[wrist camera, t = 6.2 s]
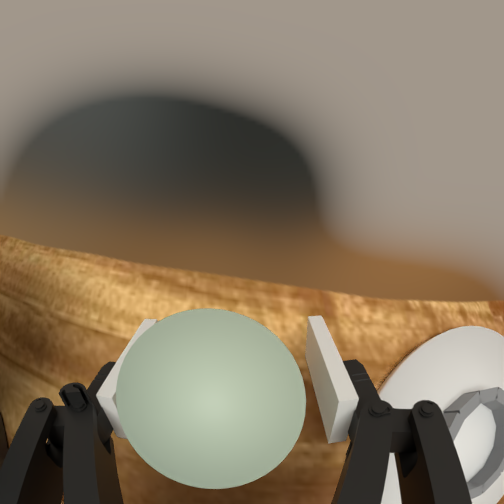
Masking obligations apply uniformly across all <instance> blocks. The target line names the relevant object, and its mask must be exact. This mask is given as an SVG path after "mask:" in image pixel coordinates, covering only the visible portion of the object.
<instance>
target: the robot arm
mask: <svg viewBox="0 0 504 504" xmlns="http://www.w3.org/2000/svg"><path fill="white" fill-rule="evenodd" d="M155 323H157V319H144V321H143V322H142V324H141V325H140V327H139V328H138V330H137V331H136V333H135V334H134V336H133V337H132V339H131V340H130V342H129V343H128V345H127V347H126V348H125V350H124V351H123V353H122V354H121V356H120V357H119V359H118V360H117V362H108V363H107V364H106V365H104V366H103V367H102V368H101V369H100V371H99V372H98V375H96V377H95V378H94V379H95V380H93V381H92V383H91V384H90V386H89V388H88V389H87V390H86V388H85V386H84V385H83V384H80V383H69V384H67V385H65V386H63V387H62V388H61V389H60V392H59V395H60V397H61V399H62V401H63V402H64V404H65V406H54V405H53V403H52V401H51V400H50V399H48V398H38V399H36V400H34V401H33V402H32V403H31V404H30V406H29V408H28V410H27V412H26V414H25V416H24V418H23V420H22V422H21V424H20V426H19V428H18V430H17V432H16V434H15V436H14V439H13V441H12V443H11V445H10V448H9V450H8V448H7V441H6V435H5V430H4V426H3V421H2V418H1V414H0V504H61V500H62V495H63V491H64V504H123V499H122V495H121V490H120V484H119V479H118V473H117V467H116V460H115V453H114V445H113V440H112V438H111V436H110V435H111V433H112V431H113V430H114V432H115V434H116V436H117V437H120V438H125V439H128V438H127V437H126V435H125V433H124V430H123V428H122V425H121V423H120V419H119V415H118V411H117V403H116V386H117V380H118V375H119V371H120V368H121V365H122V363H123V361H124V358H125V356H126V354H127V353H128V351H129V349H130V348H131V346H132V345H133V344H134V343H135V341H136V340H137V339H138V338H139V337H140V336H141V335H142V334H143V333H144V332H145V331H146V330H147V329H149V328H150V327H151V326H153V325H154V324H155ZM305 357H306V361H307V365H308V368H309V372H310V376H311V379H312V383H313V387H314V390H315V394H316V398H317V402H318V405H319V409H320V413H321V417H322V420H323V424H324V428H325V432H326V436H327V440H328V443H335V442H341V441H346V438H347V436H348V434H349V437H350V440H351V442H350V445H349V447H348V450H347V453H346V459H345V463H344V466H343V469H342V473H341V476H340V479H339V482H338V485H337V488H336V491H335V494H334V497H333V500H332V503H331V504H381V501H382V496H383V491H384V486H385V480H386V475H387V469H388V462H389V455H390V453H394V456H395V462H396V468H397V474H398V481H399V488H400V495H401V503H402V504H472V501H471V497H470V493H469V490H468V486H467V482H466V479H465V476H464V472H463V469H462V466H461V463H460V460H459V457H458V454H457V451H456V448H455V445H454V442H453V439H452V437H451V434H450V431H449V429H448V426H447V424H446V421H445V418H444V416H443V413H442V411H441V409H440V407H439V406H438V404H436V403H435V402H433V401H430V400H421V401H418V402H417V403H415V404H414V406H413V408H412V409H396V408H393V407H392V406H391V405H390V404H389V403H388V402H386V401H383V400H381V399H380V397H379V395H378V393H377V391H376V389H375V387H374V385H373V383H372V381H371V379H370V377H369V375H368V374H367V372H366V370H365V368H364V366H363V365H362V364H361V363H360V362H358V361H357V360H356V359H355V360H348V361H342V359H341V357H340V355H339V352H338V350H337V348H336V346H335V344H334V341H333V339H332V337H331V335H330V333H329V331H328V328H327V326H326V324H325V322H324V320H323V318H322V316H309V317H308V325H307V340H306V353H305ZM47 438H48V441H47ZM46 441H47V443H46Z"/></svg>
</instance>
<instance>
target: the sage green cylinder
mask: <svg viewBox="0 0 504 504" xmlns="http://www.w3.org/2000/svg"><path fill="white" fill-rule="evenodd" d="M116 403H117V411H118V415H119V419H120V423H121V425H122V428H123V430H124V433H125V435H126V437H127V438H128V440H129V442H130V444H131V445H132V446H133V448H134V449H135V450H136V452H137V453H138V454H139V455H140V456H141V457H142V458H143V459H144V461H145V462H146V463H148V464H149V465H150V466H151V467H153V468H154V469H155V470H156V471H158V472H160V473H161V474H163V475H164V476H166V477H168V478H170V479H172V480H175V481H177V482H179V483H182V484H186V485H189V486H193V487H198V488H206V489H223V488H231V487H236V486H241V485H244V484H247V483H249V482H252V481H255V480H257V479H258V478H260V477H262V476H264V475H266V474H267V473H269V472H270V471H271V470H273V469H274V468H275V467H277V466H278V465H279V464H280V463H281V462H282V461H283V460H284V459H285V457H286V456H287V455H288V454H289V452H290V451H291V450H292V448H293V446H294V445H295V443H296V441H297V439H298V437H299V435H300V432H301V429H302V427H303V422H304V418H305V410H306V395H305V387H304V383H303V378H302V375H301V373H300V370H299V367H298V365H297V363H296V361H295V359H294V358H293V356H292V354H291V353H290V351H289V350H288V349H287V347H286V346H285V345H284V344H283V342H282V341H281V340H280V339H279V338H278V337H277V336H276V335H275V334H273V333H272V332H271V331H270V330H269V329H267V328H266V327H264V326H263V325H261V324H260V323H258V322H257V321H255V320H253V319H250V318H248V317H246V316H244V315H241V314H238V313H235V312H231V311H226V310H221V309H194V310H187V311H183V312H180V313H176V314H173V315H171V316H169V317H166V318H164V319H162V320H161V321H159V322H157V323H155V324H154V325H153V326H151V327H150V328H149V329H147V330H146V331H145V332H144V333H143V334H142V335H141V336H140V337H139V338H138V339H137V340H136V341H135V343H134V344H133V345H132V346H131V348H130V349H129V351H128V353H127V354H126V356H125V358H124V361H123V363H122V365H121V368H120V371H119V375H118V380H117V386H116Z"/></svg>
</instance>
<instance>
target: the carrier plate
mask: <svg viewBox="0 0 504 504" xmlns="http://www.w3.org/2000/svg"><path fill="white" fill-rule="evenodd" d="M377 393H378V395H379V397H380V399H381V400H383V401H386V402H388V403H389V404H390V405H391V406H392V407H393V408H396V409H412V408H413V406H414V404H415V403H417V402H418V401H421V400H430V401H433V402H435V403H436V404H438V406H439V407H440V409H441V411H442V413H443V416H444V418H445V421H446V424H447V426H448V429H449V431H450V434H451V437H452V439H453V442H454V445H455V448H456V451H457V454H458V457H459V460H460V463H461V466H462V469H463V472H464V476H465V479H466V482H467V486H468V490H469V493H470V497H471V501H472V504H496V503H497V502H498V501H499V500H500V498H501V497H502V496H503V494H504V337H503V336H502V335H500V334H499V333H497V332H495V331H493V330H491V329H488V328H484V327H479V326H464V327H459V328H455V329H451V330H448V331H446V332H444V333H442V334H440V335H437V336H435V337H433V338H431V339H430V340H428V341H426V342H425V343H423V344H421V345H420V346H418V347H417V348H416V349H415V350H413V351H412V352H411V353H410V354H408V355H407V356H406V357H405V358H404V359H403V360H402V361H401V362H400V363H399V364H398V365H397V366H396V367H395V368H394V369H393V371H392V372H391V373H390V374H389V375H388V377H387V378H386V379H385V380H384V382H383V383H382V385H381V386H380V388H379V389H378V391H377ZM381 504H402V503H401V495H400V488H399V481H398V474H397V468H396V462H395V456H394V453H390V455H389V462H388V469H387V475H386V480H385V486H384V491H383V496H382V501H381Z"/></svg>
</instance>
